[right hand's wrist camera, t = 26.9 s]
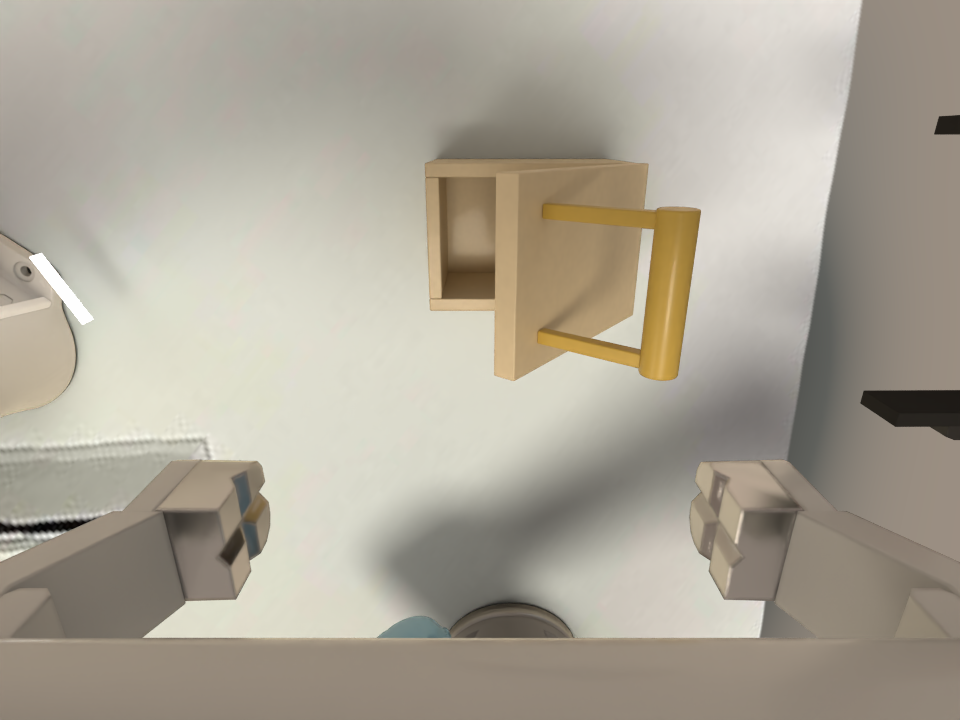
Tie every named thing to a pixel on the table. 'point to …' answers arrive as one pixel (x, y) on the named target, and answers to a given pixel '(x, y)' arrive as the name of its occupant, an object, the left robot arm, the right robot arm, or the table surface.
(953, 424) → the left robot arm
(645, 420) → the table surface
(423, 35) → the table surface
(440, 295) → the chest
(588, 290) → the lid
